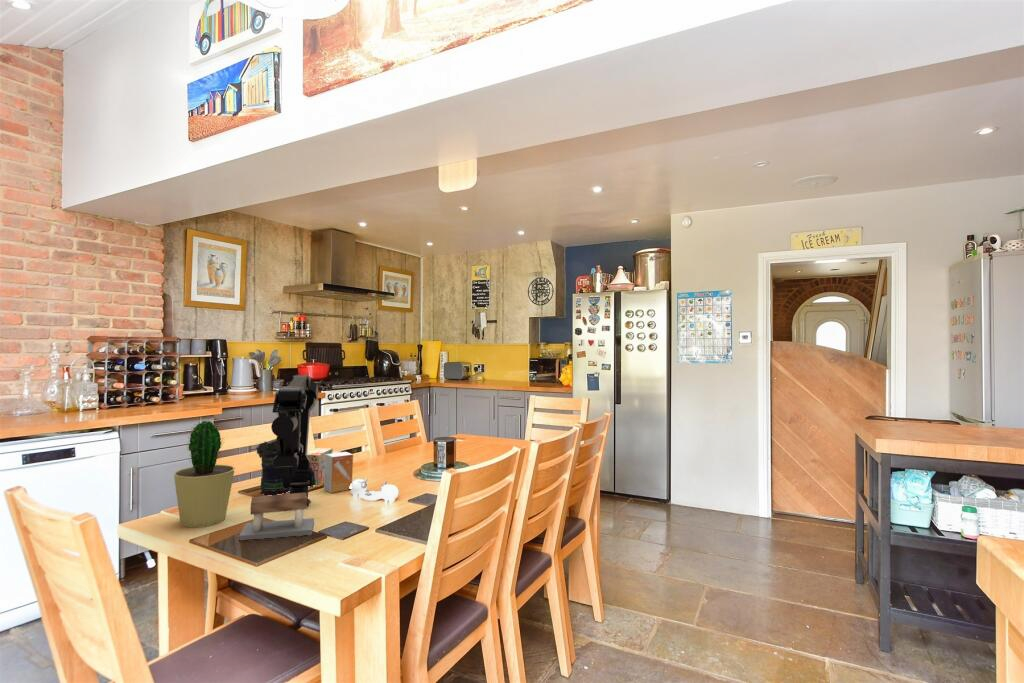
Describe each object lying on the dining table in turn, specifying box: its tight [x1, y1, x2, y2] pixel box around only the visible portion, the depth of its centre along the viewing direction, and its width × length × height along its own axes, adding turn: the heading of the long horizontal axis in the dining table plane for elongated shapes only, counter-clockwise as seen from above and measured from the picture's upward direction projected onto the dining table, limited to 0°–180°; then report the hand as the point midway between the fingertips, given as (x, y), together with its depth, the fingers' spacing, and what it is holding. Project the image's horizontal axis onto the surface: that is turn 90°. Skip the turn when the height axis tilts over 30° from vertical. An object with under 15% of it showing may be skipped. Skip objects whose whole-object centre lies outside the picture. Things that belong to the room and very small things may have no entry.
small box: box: [323, 451, 354, 494], centre depth 183 cm, size 8×6×13 cm
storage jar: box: [260, 452, 290, 496], centre depth 179 cm, size 10×10×15 cm
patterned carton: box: [307, 447, 342, 485], centre depth 197 cm, size 21×6×12 cm, turn 176°
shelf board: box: [250, 492, 308, 516], centre depth 141 cm, size 14×6×3 cm, turn 115°
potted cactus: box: [173, 420, 236, 528], centre depth 148 cm, size 15×15×30 cm
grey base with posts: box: [238, 509, 315, 541], centre depth 141 cm, size 10×18×6 cm, turn 108°
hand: (288, 483), depth 147 cm, fingers open, 9 cm apart
